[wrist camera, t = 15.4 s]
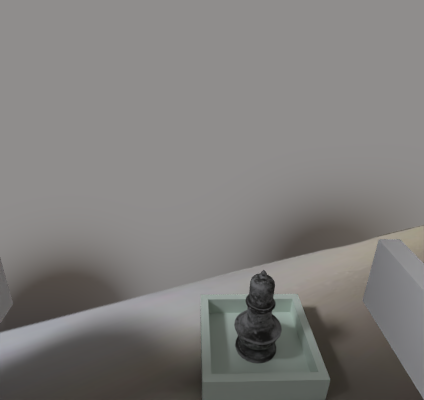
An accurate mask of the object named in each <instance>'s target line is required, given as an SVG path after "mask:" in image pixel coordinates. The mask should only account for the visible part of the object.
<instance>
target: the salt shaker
mask: <svg viewBox="0 0 424 400" xmlns="http://www.w3.org/2000/svg"><path fill="white" fill-rule="evenodd" d="M274 288H275V283H274V280H273V279H272V278H271V277H270V276H269V275H267V273H266V272H265V271H264V270H263V271H262V272H261V274H256V275H254V276H253V277H252V279H251V281H250V292H249V295H248V296H247V297H246V305H247V306H248V307H247V310H245V311H243V312H242V313H240V314H239V315H238V316H237V317H236V319H235V324H234V326H235V330H236V332H237V335H238V337H237V339H236V343H235V347H236V351H237V352H238V354H239V355H240V356H241V357H242V358H243V359H245V360H246V361H249V362H252V363H265V362H268V361H269V360H271V359H272V358H273V357H274V356H275V353H276V344H275V342H276V340H277V339H278V338H279V337H280V335H281V332H282V328H281V324H280V322H279V320H278V319H277V318H276V317H275V316H274V315H273V314H272V310H273V309H274V308H275V306H276V302H275V300H274V298H273V296H274Z"/></svg>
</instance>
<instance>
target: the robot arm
mask: <svg viewBox="0 0 424 400" xmlns="http://www.w3.org/2000/svg"><path fill="white" fill-rule="evenodd" d="M363 302H364V304H365V305H366V307H367V308H368V310H369V312H370V313H371V315H372V317H373V318H374V320H375V321H376V323H377V325H378V326H379V328H380V330H381V331H382V333H383V334H384V336H385V338H386V339H387V341H388V342H389V344H390V346H391V347H392V349H393V351H394V352H395V354H396V355H397V357H398V359H399V360H400V362H401V364H402V365H403V367H404V368H405V370H406V372H407V373H408V375H409V377H410V378H411V380H412V381H413V383H414V385H415V386H416V388H417V390H418V391H419V393H420V394H421V396H422V398H423V399H424V263H423V262H422V261H421V260H420V259H419V258H418V257H417V256H416V255H415V254H414V253H413V252H412V251H411V250H410V249H409V248H408V247H407V246H406V245H405V244H404V243H403V242H402V241H401V240H400V239H379V241H378V245H377V249H376V252H375V256H374V260H373V264H372V267H371V271H370V275H369V278H368V282H367V286H366V290H365V293H364V297H363ZM12 304H13V302H12V298H11V295H10V291H9V287H8V284H7V281H6V277H5V273H4V270H3V266H2V263H1V259H0V323H1V321H2V320H3V318H4V317H5V315H6V313H7V312H8V311H9V309H10V308H11V306H12Z"/></svg>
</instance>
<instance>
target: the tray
mask: <svg viewBox="0 0 424 400" xmlns="http://www.w3.org/2000/svg"><path fill="white" fill-rule="evenodd" d="M248 295H249V294H232V295H201V365H202V400H326V396H327V392H328V388H329V384H330V377H329V375H328V372H327V369H326V367H325V364H324V362H323V359H322V356H321V354H320V351H319V349H318V346H317V343H316V341H315V338H314V336H313V333H312V331H311V328H310V325H309V323H308V320H307V318H306V315H305V312H304V310H303V307H302V305H301V302H300V299H299V297H298V294H274V296H273V298H274V300H275V302H276V306H275V308H274V309H273V310H272V314H273V315H274V316H275V317H276V318H277V319H278V320H279V322H280V324H281V328H282V332H281V335H280V337H279V338H278V339H277V340H276V342H275V344H276V353H275V356H274V357H273V358H272V359H271V360H269V361H268V362H265V363H252V362H249V361H246V360H245V359H243V358H242V357H241V356H240V355H239V354H238V352H237V351H236V347H235V343H236V339H237V337H238V335H237V332H236V330H235V326H234V324H235V319H236V317H237V316H238V315H239V314H240V313H242V312H243V311H245V310H247V307H248V306H247V305H246V297H247V296H248Z"/></svg>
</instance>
